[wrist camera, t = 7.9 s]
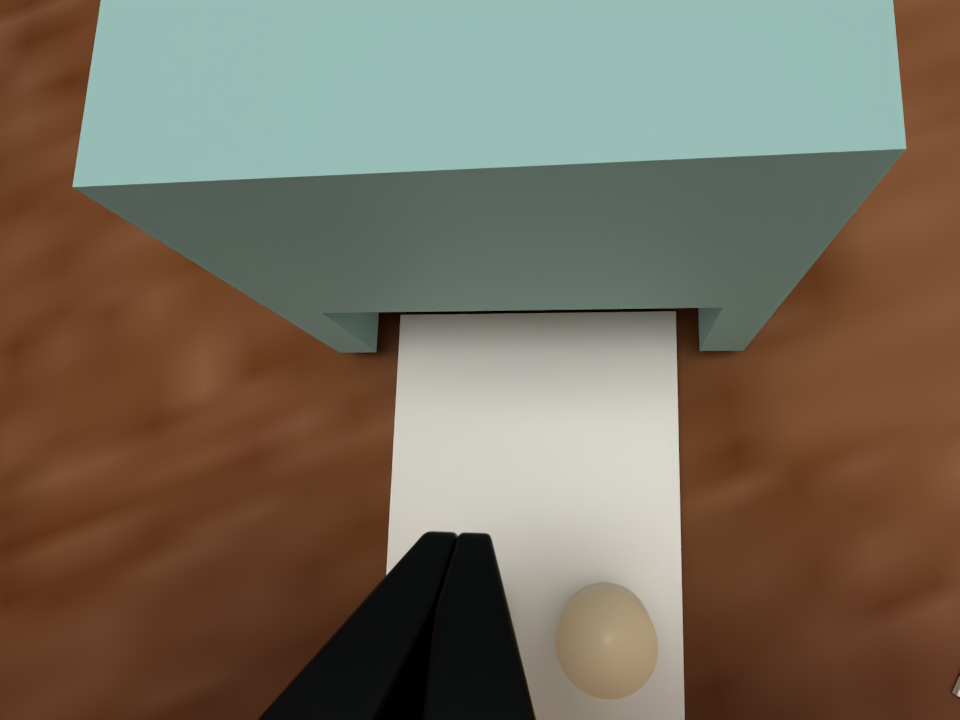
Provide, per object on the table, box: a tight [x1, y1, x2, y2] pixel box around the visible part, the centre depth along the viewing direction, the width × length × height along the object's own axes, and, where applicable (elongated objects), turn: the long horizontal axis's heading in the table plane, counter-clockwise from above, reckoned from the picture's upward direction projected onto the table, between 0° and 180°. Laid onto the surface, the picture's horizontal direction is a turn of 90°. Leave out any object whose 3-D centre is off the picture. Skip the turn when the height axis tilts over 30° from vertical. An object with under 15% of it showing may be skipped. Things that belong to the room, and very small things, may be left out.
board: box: [386, 311, 685, 720], centre depth 17 cm, size 12×7×3 cm, turn 178°
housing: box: [73, 0, 906, 353], centre depth 15 cm, size 9×10×10 cm
